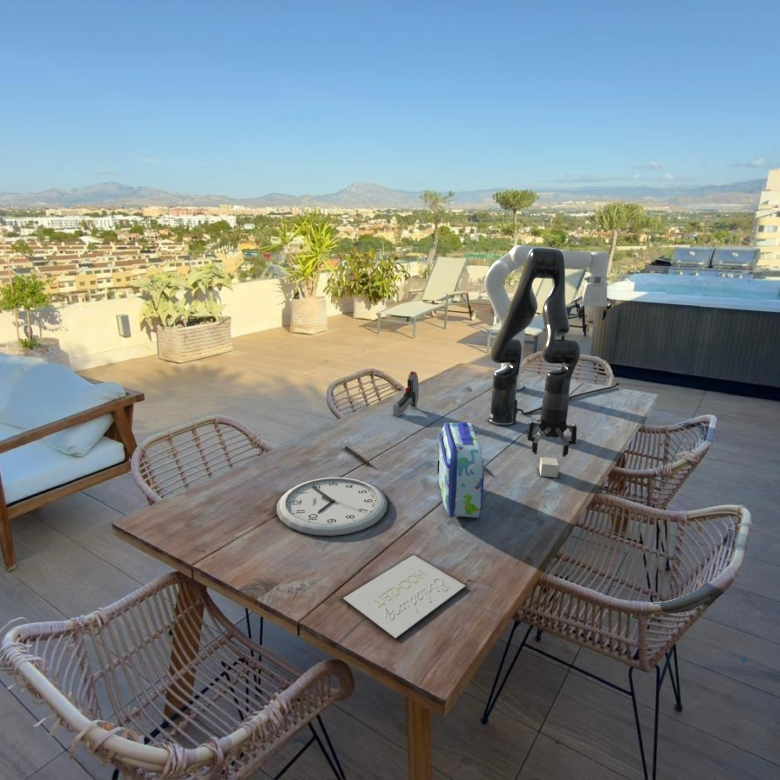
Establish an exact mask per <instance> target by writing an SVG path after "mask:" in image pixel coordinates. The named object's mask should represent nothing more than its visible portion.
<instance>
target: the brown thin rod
mask: <svg viewBox="0 0 780 780" xmlns="http://www.w3.org/2000/svg"><path fill="white" fill-rule="evenodd" d="M344 449H345V450H346V451H348V452H349V453H350V454H352V455H353V456H355V457H356V458H358V459H359V460H361V461H362V462H363V463H364V464H366V465H370V461H368V460H367V459H366V458H364V457H363V456H361V455H360V454H358V453H357V452H356V451H354V450H353V449H352V448H350V447H348V446H347V445H345V446H344Z"/></svg>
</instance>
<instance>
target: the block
mask: <svg viewBox="0 0 780 780" xmlns="http://www.w3.org/2000/svg"><path fill="white" fill-rule="evenodd" d="M559 467H560V465H559V461H558V458H554V457H543V456H540V458H539V467H538V470H539V474H540V477H546V478H547V477H548V478H558V477H559V469H560V468H559Z"/></svg>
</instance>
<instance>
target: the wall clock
mask: <svg viewBox="0 0 780 780" xmlns="http://www.w3.org/2000/svg"><path fill="white" fill-rule="evenodd" d="M387 509H388V500H387V498H386V496H385V494H384V493H383V492H382V491H381V490H380V489H379V488H377V487H376V486H374V485H372V484H371V483H369V482H365V481H362V480H359V479H355V478H349V477H338V476H337V477H335V476H333V477H332V476H331V477H322V478H317V479H312V480H307V481H305V482H302V483H299V484H297V485H295V486H293V487H292V488H290V489H288V490H287V491H286V492H285V493H284V494H283V495H281V496H280V498H279V499H278V502H277V503H276V515H277V517H278V518H279V520H280V521H281V522H282V523H283V524H285V525H286V526H287V527H288V528H290V529H293V530H295V531H297V532H299V533H303V534H308V535H312V536H327V537H328V536H329V537H331V536H332V537H333V536H342V535H350V534H352V533H356V532H361V531H363V530H366V529H368V528H369V527H372V526H373V525H375V524H376V523H378V522H379V521H380V520H381V519H382V518H383V517H384V516H385V514H386V512H387Z"/></svg>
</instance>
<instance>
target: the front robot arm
mask: <svg viewBox="0 0 780 780" xmlns="http://www.w3.org/2000/svg"><path fill="white" fill-rule="evenodd" d="M558 249H559V248H556V249H548V248H533V249H532V250H531V251H530V252H529V254H528V256H527V258H526V261H525V264H524V265H523V268H522V271H521V275H520V278H519V281H518V284H517V287H516V289H515V291H514V294H513V296H512V299H511V303H510V306H509V308H508V311H507V314H506V317H505V319H504V322H503V324H502V325H501V326H500V328H499V330H498V332H497V334H496V335H495V337H494V339H493V341H492V344H491V347H490V353H489V355H490V359H491V361H492V362H494V363H495V364H501V363H507V365H506V366H505V367H503V368H501V367H500V368H499V369H497V370H495V371H494V372H493V374H492V388H491V399H490V410H489V411H490V413H489V422H490V423H491V424H494V425H497V426H511V425H513V424H516V423H517V414H518V411H519V412H521V414H522V415H524V416H525V415H529V414H530V415H531V414H532V413H535V412H538V411H540V410H541V411H540V420H539V421H534V420H533V419H530V420H529V422H528V428H527V433H526V437H527V438H526V439H527V441H528V442H532V445H531V451H532V453H533V455H537V454H538V445H539V441H541V440H543V438H544V437H546V438H555V439H557V438H560V439H561V441H562V442H563V444H562V451H561V456H562V457H563V458H566V456H568V454H569V450H570V449H569V448H570V446H572V445H574V446H575V445H576V444H577V434H578V427H577V424H576V423H571V424H567V420H568V413H569V412H568V411H569V404H570V399H573V398H576V397H581V396H584V395H585V396H586V395H588V394H593V393H596V392H601V391H604V390H610V389H614V388H616V387H617V386H620V383H619V382H616V383H615V385H612V386H608V387H603V388H598V389H595V390H590V391H585V392H582V393H578V394H574V395H570V390H571V389H570V388H571V381H572V377H573V374H574V371H575V369H576V367H577V366H578V365H577V364H578V362H579V360H580V357H581V353H582V351H581V345H580V343H579V342H578V341H577V340H576V339H556V338H561V337H563V336H566V335H567V334H568V333H569V331H570V329H571V328H570V322H569V316H568V309H567V303H566V268H565V261H564V256H563V253H562V252H561V251H560V250H561V249H560V250H558ZM535 279H551V284H552V287H551V290H550V292H549V294H548V296H547V297H546V299H545V301H544V303H543V305H542V306H543V307H542V321H543V327H544V340H543V346H542V352H541V354H542V358H543V360H544V361H545V362H546V363H548V364H551V365H553V364H555V365H556V364H559V365H560V364H561V366H560V367H559V368H556V369H552V370H549V371H547V372H546V375H545V383H544V391H543V394H542V400H541V406H540V407H538V408H535V409H532V410H530V411H527V412H524V410H523V409H521V408H518V399H517V390H516V389H517V379H518V375H519V369H520V362H521V355H522V345H521V342H520V341H519V340H518V339H512V338H513V337H515V336H516V335H517V334H519V333H520V332H522V331H523V330H524V329H525V330H526V329H527V328H528V327H529V326H530V325H531V324H532V322H533V320H534V318H535V317H536V316H535V315H536V313H537V312H538V306H539V305H538V300H537V297H536V295H535V292H534V289H533V283H534V282H535ZM537 427H538V428H539V429H540V430H538V431H537V432H536V434H535V435H533V434H534V430H535V429H536V428H537ZM567 429H568V431H569V432H570V439H568V438H567V436H566V435H565V432H566V431H567Z"/></svg>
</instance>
